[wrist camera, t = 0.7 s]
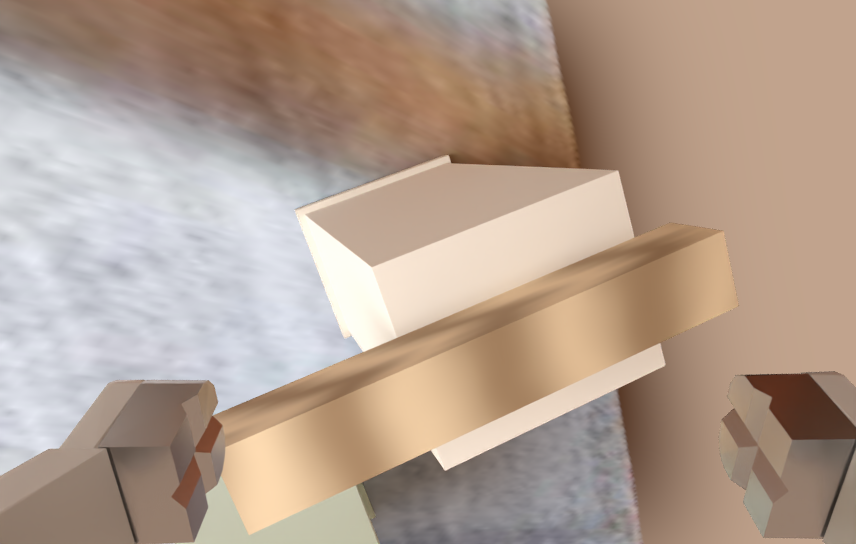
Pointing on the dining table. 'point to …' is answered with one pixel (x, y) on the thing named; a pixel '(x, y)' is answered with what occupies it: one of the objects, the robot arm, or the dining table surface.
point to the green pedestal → (292, 521)
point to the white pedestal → (466, 260)
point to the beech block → (468, 370)
